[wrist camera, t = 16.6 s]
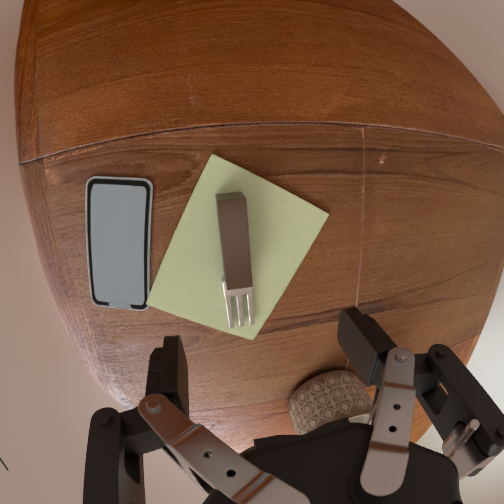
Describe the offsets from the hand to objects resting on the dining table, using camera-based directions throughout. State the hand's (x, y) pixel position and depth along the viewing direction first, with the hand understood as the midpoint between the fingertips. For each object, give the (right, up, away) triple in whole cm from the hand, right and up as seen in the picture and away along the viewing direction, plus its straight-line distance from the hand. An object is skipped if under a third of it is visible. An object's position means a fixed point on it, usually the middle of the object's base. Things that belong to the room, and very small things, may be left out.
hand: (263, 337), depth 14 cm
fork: (-2, +3, +17) cm, 18 cm away
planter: (+11, -19, +30) cm, 37 cm away
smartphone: (-15, +5, +16) cm, 22 cm away
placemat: (-2, +3, +18) cm, 18 cm away
